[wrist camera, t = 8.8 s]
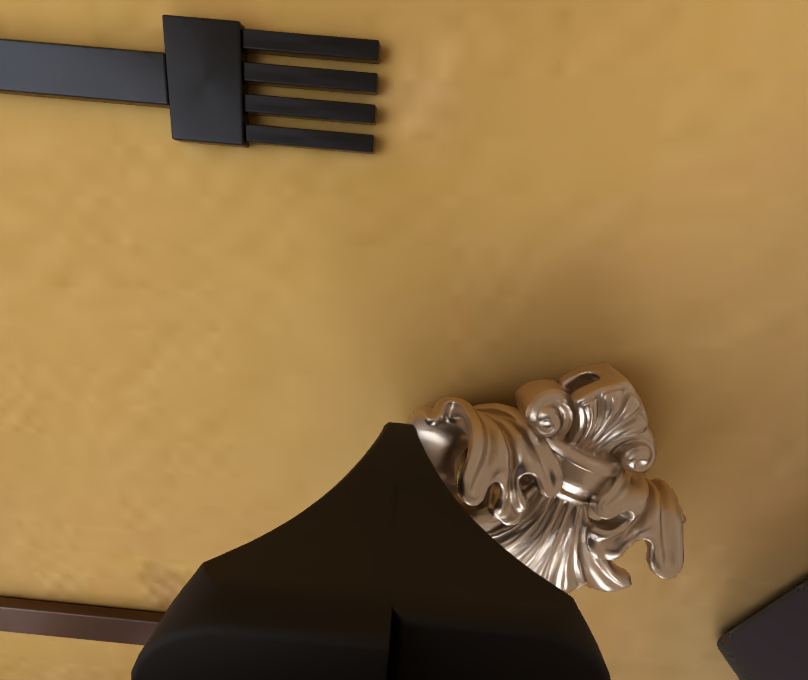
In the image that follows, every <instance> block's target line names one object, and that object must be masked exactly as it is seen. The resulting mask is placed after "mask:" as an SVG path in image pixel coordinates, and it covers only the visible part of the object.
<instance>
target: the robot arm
mask: <svg viewBox="0 0 808 680" xmlns="http://www.w3.org/2000/svg"><path fill="white" fill-rule="evenodd" d="M131 680H611V679H610V675H609V671H608V669H607V667H606V664H605V662H604V659H603V657H602V654H601V652H600V650H599V647H598V645H597V643H596V641H595V639H594V637H593V635H592V633H591V631H590V629H589V627H588V625H587V623H586V621H585V619H584V618H583V616H582V614H581V612H580V610H579V609H578V607H577V605H576V603H575V601H574V599H573V598H572V597H571V596H570V595H568V594H567V593H565V592H564V591H562V590H561V589H559V588H558V587H557V586H555V585H554V584H552V583H551V582H549V581H548V580H546V579H545V578H543V577H542V576H540V575H539V574H537V573H536V572H534V571H533V570H531V569H530V568H529V567H527V566H526V565H525V564H523V563H522V562H521V561H520V560H518V559H517V558H516V557H515V556H513V555H512V554H511V553H510V552H508V551H507V550H506V549H505V548H504V547H502V546H501V545H500V544H499V543H498V542H497V541H495V540H494V539H493V538H492V537H491V536H490V535H489V534H488V533H487V532H486V531H485V530H484V529H483V528H482V527H481V526H480V525H479V524H478V523H476V522H475V521H474V520H473V518H472V517H471V516H470V515H469V514H468V513H467V512H466V511H465V509H464V508H463V507H462V506H461V505H460V503H459V502H458V501H457V500H456V498H455V497H454V496H453V495H452V493H451V492H450V491H449V489H448V488H447V486H446V485H445V483H444V482H443V480H442V479H441V477H440V476H439V474H438V473H437V471H436V469H435V468H434V466H433V464H432V462H431V461H430V459H429V457H428V455H427V453H426V452H425V450H424V447H423V445H422V443H421V441H420V439H419V436H418V433H417V430H416V428H415V427H414V425H413V424H403V423H392V422H389V423H387V424H386V425H385V426H384V428H383V430H382V432H381V433H380V435H379V436H378V438H377V439H376V441H375V442H374V444H373V445H372V446H371V448H370V449H369V450H368V451H367V453H366V454H365V455H364V456H363V458H362V459H361V460H360V461H359V462H358V463H357V464H356V465H355V467H354V468H353V469H352V470H351V471H350V472H349V473H348V474H347V475H346V476H345V477H344V478H343V479H342V480H341V481H340V482H339V483H338V484H337V485H336V486H334V487H333V488H332V489H331V490H330V491H329V492H328V493H326V494H325V495H324V496H323V497H322V498H320V499H319V500H318V501H316V502H315V503H314V504H312V505H311V506H310V507H308V508H307V509H306V510H304V511H303V512H301V513H300V514H298V515H297V516H296V517H294V518H292V519H291V520H289V521H287V522H286V523H284V524H282V525H281V526H279V527H277V528H276V529H274V530H272V531H270V532H268V533H266V534H265V535H263V536H261V537H259V538H257V539H255V540H253V541H251V542H249V543H247V544H245V545H242V546H240V547H238V548H236V549H233V550H231V551H229V552H227V553H225V554H222V555H220V556H218V557H216V558H213V559H211V560H208V561H206V562H204V563H203V564H202V565H201V566H200V567H199V569H198V570H197V571H196V572H195V574H194V575H193V576H192V578H191V579H190V580H189V581H188V583H187V584H186V585H185V586H184V587H183V589H182V590H181V591H180V593H179V594H178V595H177V597H176V598H175V599H174V601H173V602H172V604H171V605H170V607H169V608H168V610H167V611H166V613H165V614H164V616H163V618H162V619H161V621H160V622H159V624H158V625H157V627H156V629H155V630H154V632H153V633H152V635H151V636H150V638H149V640H148V641H147V643H146V644H145V646H144V647H143V649H142V651H141V652H140V654H139V656H138V658H137V660H136V662H135V665H134V667H133V669H132V672H131Z"/></svg>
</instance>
